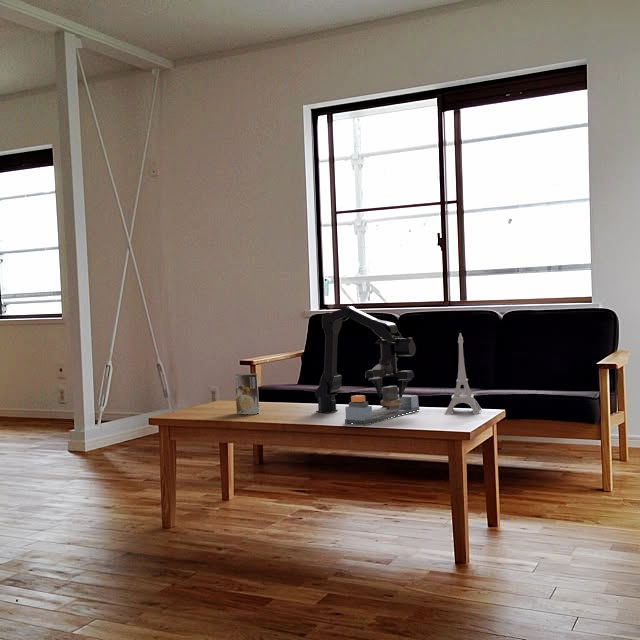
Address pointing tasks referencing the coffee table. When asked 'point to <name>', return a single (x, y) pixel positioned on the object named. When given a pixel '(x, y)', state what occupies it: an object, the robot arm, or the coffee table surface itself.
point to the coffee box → (247, 393)
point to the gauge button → (358, 398)
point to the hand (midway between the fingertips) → (390, 397)
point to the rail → (379, 410)
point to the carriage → (390, 397)
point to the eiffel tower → (462, 381)
